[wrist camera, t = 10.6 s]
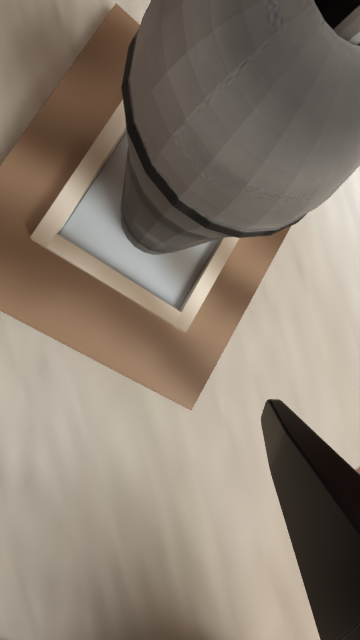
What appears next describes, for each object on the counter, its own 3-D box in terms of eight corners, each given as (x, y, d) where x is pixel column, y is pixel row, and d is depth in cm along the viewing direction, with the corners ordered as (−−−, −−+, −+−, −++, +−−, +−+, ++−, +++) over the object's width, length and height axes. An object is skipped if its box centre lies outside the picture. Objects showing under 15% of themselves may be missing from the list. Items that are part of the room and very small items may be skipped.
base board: (185, 405, 23) (195, 414, 21) (-65, 273, 17) (-83, 269, 16) (302, 191, 25) (320, 181, 23) (114, 20, 20) (117, -10, 18)
